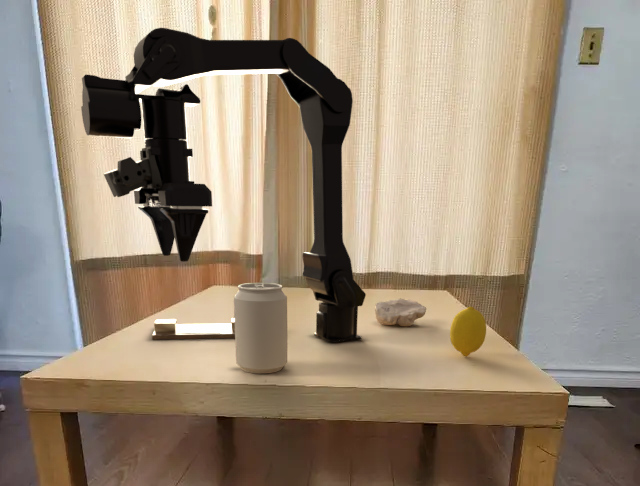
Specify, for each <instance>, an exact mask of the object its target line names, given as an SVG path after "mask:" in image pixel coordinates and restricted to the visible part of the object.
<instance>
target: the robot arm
mask: <svg viewBox="0 0 640 486" xmlns="http://www.w3.org/2000/svg"><path fill="white" fill-rule="evenodd" d="M133 64H134V66H133V67H132V69H131V70H130V72H129V73H128V74H127V75H126V76H125V77H124V78H125V80H124V79H117V78H116V79H114V78H105V77H100V76H98V75H94V74H84V76H82V78H81V84H82V91H81V94H82V95H81V98H82V99H81V100H82V105H81V106H80V108H81V117H82V123H83V127H84V128H83V129H84V131H85V134H86V136H91V137H104V138H105V137H107V138H122V139H123V138H124V139H133V137H134V134H135V131H140V130H141V127H142V126H143V136H144V147H143V148H141V150H140V151H139V156H140V157H139V158H140V160H138V161H135V160H134V158H133V157H131V156H128V157H126V158H123V159H120V160H117V168H114V169H112V170H109V171H107V172H104V173H103V176H104V179H105V181H106V183H107V185H108V188H109V190H110V192H111V194H112V196H113V198H116V197H117V198H121V197H124V196H127V195H129V194H130V193H131V192H132V191H133V197H134V204H136V205H143V206H137V208H138V209H139V211H141V212H142V213H143V214H144V215H146V216H147V217H148V218H149V219H150V221H151V224H152V227H153V231H154V232H155V233H154V234H155V236H156V239H157V242H158V245H159V249H160V251H161V255H162V256H164V257H169V256H171V253H172V250H173V246H174V242H175V246H176V250H177V254H178V258H179V261H180V262H182V263H183V262H188V261H189V260H190V258H191V254H192V251H193V249H194V246H195V243H196V242H197V238H198V236H199V233H200V230H201V228H202V226H203V223H204V222H205V219H206V216H207V214H209V211H210V209H207V208H204V207H213V194H212V190H211V189H210V188H209V187H208V186H207V185H206V184H205V183H195V181H193V180H191V175H190V160H189V158H193V156H194V153H193V148H189V143H188V142H189V141H188V127H187V112H186V111H187V110H186V107H190V108H192V107H195V106H197V105H200V104H201V102H202V101H201V100H202V99H201V98H200V97H199V96H198V95H196V93H195V92H193V90H192V89H191V88H190V86H189V84H187V83H185V84H184V85H181V87H180V88H179V89H171V88H170V89H169V88H161V87H166V86H171V85H174V84H178V83H181V82H185V81H189V80H192V79H195V78H200V77H204V76H221V75H223V76H224V75H258V74H259V75H262V74H275V75H276V76H277V77H278V78H279V79H280V80H281V82H282V84H283V86H284V88H285V90H286V92H287V94H288V95H289V97H290V98H291V99H292V101H294V103H295V104H296V105H297V106H298V107H299V111H300V118H301V123H302V129H303V131H304V133H305V135H306V138H307V140H308V143H309V145H310V149H311V168H312V169H311V177H312V181H311V182H312V205H313V206H312V210H313V211H312V213H313V243H312V245H311V248H310V251H309V252H306V251H305V252H304V251H303V252H302V254H301V255H302V256H301V257H302V264H303V270H302V274H301V276H302V277H304V278H305V282H306V285H307V287H309V289H310V290H311V291H312V292H313V296H314V299H315V301H319V302H318V311H317V312H316V314H315V315H316V317H315V318H316V320H315V322H316V323H315V332H314V333H313V336H314V337H316V338H319V339H321V340H323V341H326V342H328V343H339V342H340V343H341V342H348V341H357V340H362V338H363V337H362V335H359V334H358V318H359V317H358V314H359V307H362V306H363V305H364V302H365V300H366V296H367V293H366V292H365V291H364V290H363V289H362V288H361V286H360V285H359V284H358V283H357V282H356V281H355V280H354V273H353V267H352V266H353V265H352V259H351V257H350V254H349V253H348V250H347V247H346V246H345V245H346V244H345V243H344V235H343V234H344V232H343V231H344V230H343V229H344V228H343V226H344V225H343V224H344V222H343V218H344V217H343V216H344V215H343V144H344V141H345V138H346V136H347V135H348V134H347V133H348V131H349V128H350V126H351V119H352V118H351V117H352V110H353V101H354V100H353V92H352V90H351V88H350V87H349V86H348V85H347V83H346V82H345V81H343V80H342V79H341V78H338V77H337V76H336V74H335V73H334V72H333V71H332V70H331V68H329V67H328V66H327V65H326V64H324V63H323V62H321V60H319V59H318V58H316V57H315V56H313V54H311V53H309V51H308V50H307V49H306V48H305V46H304V45H303V44H302V43H301V42H300V41H299V40H297V39H296V38H293V37H287V38H284V39H206V38H201V37H199V36H197V35H193V34H191V33H189V32H186V31H180V30H177V29H171V28H167V27H157V28H153V29H152V30H150V31H149V32H148V33H147V34H146V35H145V36H144V37H143V38H142V39H140V40H139V41H138V43H137V44H136V46H135V48H134V52H133ZM151 86H152V87H156V88H157V90H156V91H155V94H154V95H153V94H141V92H142V91H144V90H146V89H148V88H149V87H151ZM142 124H143V125H142Z"/></svg>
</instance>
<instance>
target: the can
mask: <svg viewBox="0 0 640 486" xmlns="http://www.w3.org/2000/svg"><path fill="white" fill-rule="evenodd" d="M237 288H238V291H236V293H235V294H234V296H233V314H234V315H233V317H234V319H235V338H234V342H235V343H234V344H235V345H234V346H235V364H236V365H237V366H239V367H240V368H241V370H242V371H243V372H246V373H251V374H271V373H276V372H280V371H281V370H282V369H283V368H284V367H285V366H286V365H287V364H288V296H287V295H286V294H285V292H284V291H283V285H282V284H279V283H271V282H247V283H241V284H238V285H237Z"/></svg>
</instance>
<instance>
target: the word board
mask: <svg viewBox="0 0 640 486" xmlns="http://www.w3.org/2000/svg"><path fill="white" fill-rule="evenodd" d="M177 321H178V320H177V319H176V318H167V319H166V318H165V319H164V318H163V319H162V318H161V319H160V318H159V319H157V318H156V319H155V321H154V323H153V326H154V327H153V329H154V330H153V333H152V335H151V339H152V340H155V341H156V340H205V339H206V340H207V339H209V340H210V339H235V319H234V318H233V317H231V318H230V323H178V322H177Z"/></svg>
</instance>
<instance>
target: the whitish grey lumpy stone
mask: <svg viewBox="0 0 640 486" xmlns="http://www.w3.org/2000/svg"><path fill="white" fill-rule="evenodd" d="M426 312H427V307H426V306H424V305H423V304H422V303H420V302H418V301H416V300H413V299H412V300H411V299H405V298H394V299H389V300H386V301H379V302H376V303H375V307H374V314H375V319H376V322H377V323H379V324H381V325H384V326H393V325H398V326H401V327H411V326H412V325H414V323H415V321H417V320H418V319H421V318H423V317H424V316H425V315H426Z"/></svg>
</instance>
